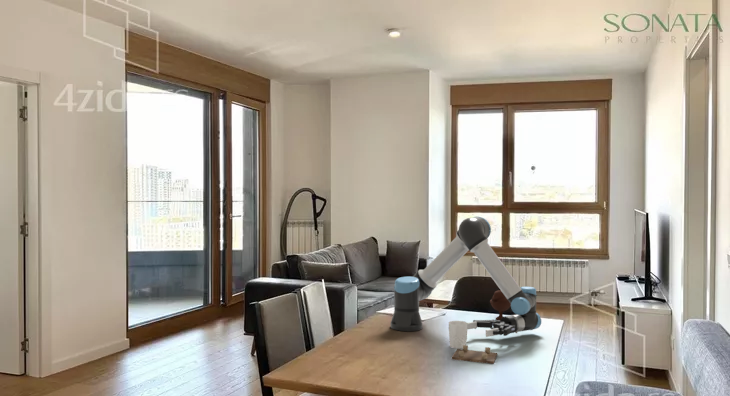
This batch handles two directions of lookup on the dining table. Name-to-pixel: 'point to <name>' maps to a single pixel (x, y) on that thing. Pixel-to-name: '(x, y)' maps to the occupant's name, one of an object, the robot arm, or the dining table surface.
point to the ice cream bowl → (500, 303)
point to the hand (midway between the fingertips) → (475, 329)
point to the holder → (474, 355)
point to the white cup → (458, 334)
